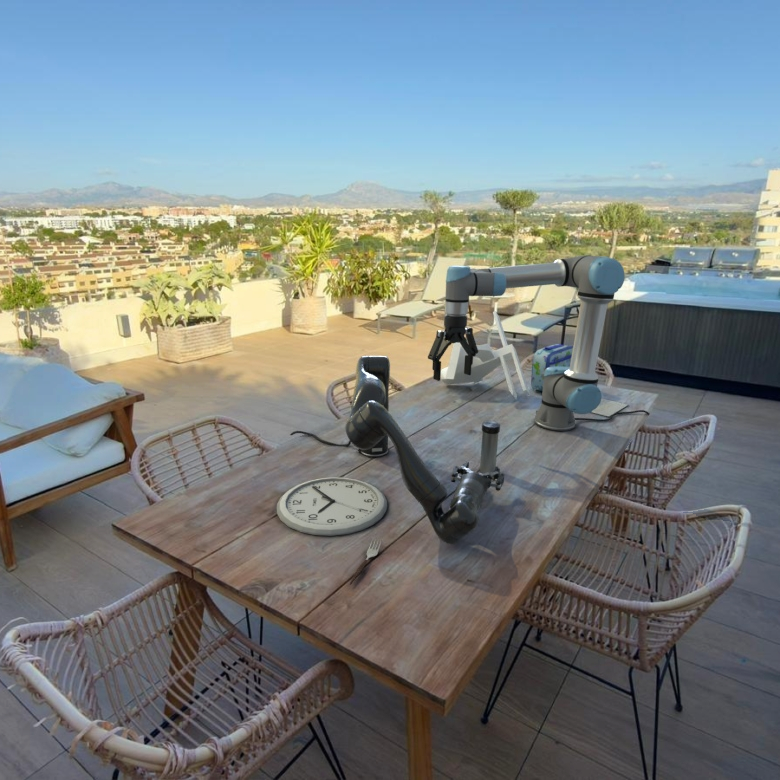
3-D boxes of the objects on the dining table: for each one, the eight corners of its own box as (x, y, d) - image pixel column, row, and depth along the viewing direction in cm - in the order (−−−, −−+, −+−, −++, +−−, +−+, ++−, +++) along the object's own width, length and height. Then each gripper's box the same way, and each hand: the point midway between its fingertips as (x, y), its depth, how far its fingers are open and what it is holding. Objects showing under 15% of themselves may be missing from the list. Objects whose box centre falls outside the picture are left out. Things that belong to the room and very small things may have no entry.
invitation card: (608, 416, 214) (573, 407, 224) (608, 416, 214) (573, 408, 224) (628, 404, 229) (594, 396, 238) (628, 405, 229) (594, 397, 238)
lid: (481, 433, 159) (482, 426, 158) (482, 426, 164) (482, 420, 163) (499, 434, 158) (500, 428, 157) (499, 428, 163) (500, 421, 162)
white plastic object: (461, 429, 252) (437, 405, 227) (444, 352, 274) (420, 323, 250) (535, 404, 240) (518, 377, 215) (510, 326, 262) (492, 293, 237)
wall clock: (392, 527, 129) (268, 531, 127) (391, 533, 130) (269, 537, 127) (383, 473, 158) (282, 475, 155) (383, 478, 158) (282, 480, 156)
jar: (479, 473, 163) (482, 427, 158) (479, 466, 167) (483, 422, 163) (495, 475, 162) (499, 429, 157) (495, 468, 167) (499, 423, 162)
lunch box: (547, 396, 238) (552, 351, 232) (526, 391, 246) (531, 347, 239) (574, 385, 256) (579, 343, 250) (554, 380, 263) (559, 340, 257)
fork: (344, 585, 111) (344, 577, 110) (372, 544, 125) (372, 537, 125) (355, 588, 110) (355, 580, 109) (382, 546, 124) (382, 539, 124)
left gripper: (443, 499, 142) (457, 474, 156) (496, 509, 137) (505, 482, 152) (445, 474, 139) (458, 451, 154) (498, 484, 135) (507, 459, 149)
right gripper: (476, 310, 180) (471, 369, 187) (418, 315, 167) (416, 379, 173) (491, 313, 175) (486, 374, 181) (433, 319, 161) (430, 385, 167)
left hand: (482, 467), depth 153 cm, fingers open, 8 cm apart
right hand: (452, 377), depth 177 cm, fingers open, 13 cm apart
